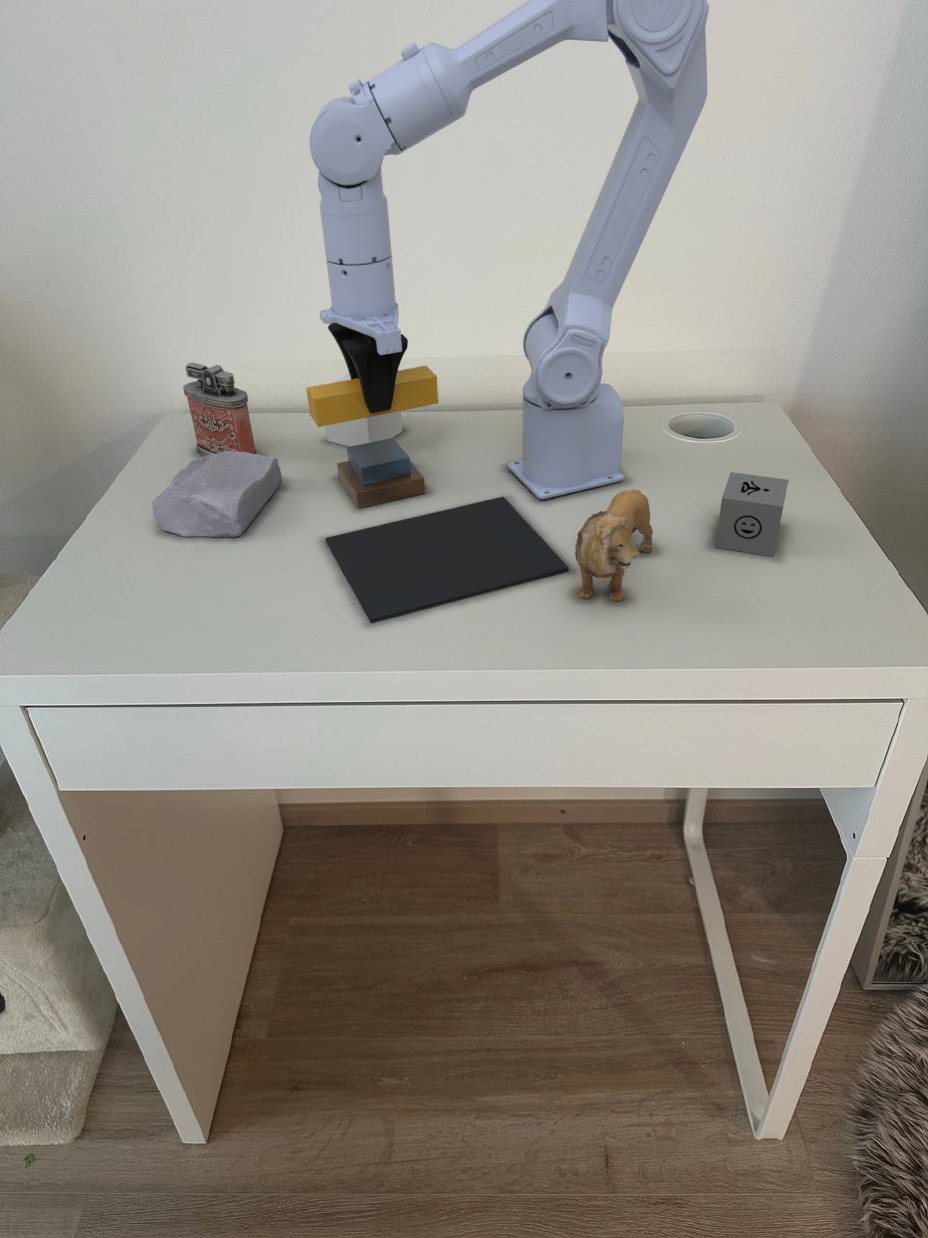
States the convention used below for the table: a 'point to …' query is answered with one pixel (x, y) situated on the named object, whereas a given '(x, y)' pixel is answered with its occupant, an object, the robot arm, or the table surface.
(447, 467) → the table surface
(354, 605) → the table surface
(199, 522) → the stone block
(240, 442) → the lighter
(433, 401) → the bar
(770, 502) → the dice cube
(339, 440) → the white cube
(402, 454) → the brown blue stepped block
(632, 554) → the lion figurine
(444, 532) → the mat
